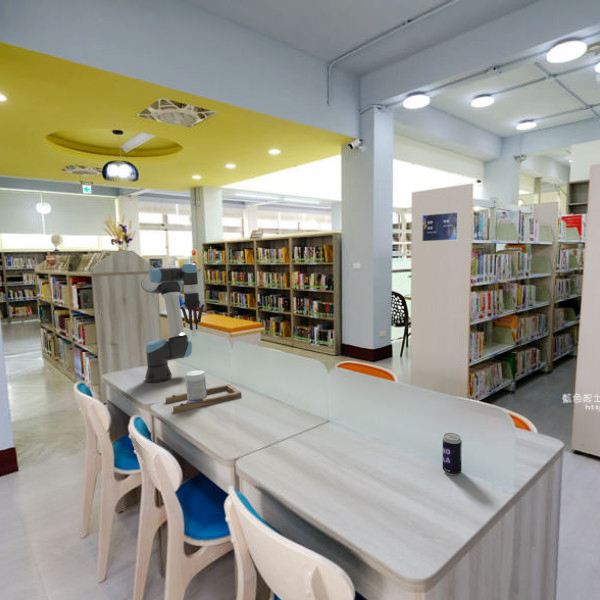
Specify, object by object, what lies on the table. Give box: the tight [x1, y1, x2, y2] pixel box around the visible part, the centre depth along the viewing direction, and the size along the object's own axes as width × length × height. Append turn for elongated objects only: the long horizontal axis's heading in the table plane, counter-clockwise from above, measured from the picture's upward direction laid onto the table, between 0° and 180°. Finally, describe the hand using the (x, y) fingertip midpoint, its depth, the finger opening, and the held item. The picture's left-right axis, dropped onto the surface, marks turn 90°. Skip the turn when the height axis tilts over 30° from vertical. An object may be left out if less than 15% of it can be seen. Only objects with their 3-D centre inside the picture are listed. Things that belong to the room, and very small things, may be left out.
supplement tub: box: [185, 369, 208, 403], centre depth 199 cm, size 10×10×15 cm
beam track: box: [165, 383, 243, 413], centre depth 202 cm, size 17×34×3 cm, turn 122°
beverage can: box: [442, 432, 463, 476], centre depth 127 cm, size 6×6×12 cm
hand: (194, 335), depth 215 cm, fingers closed
